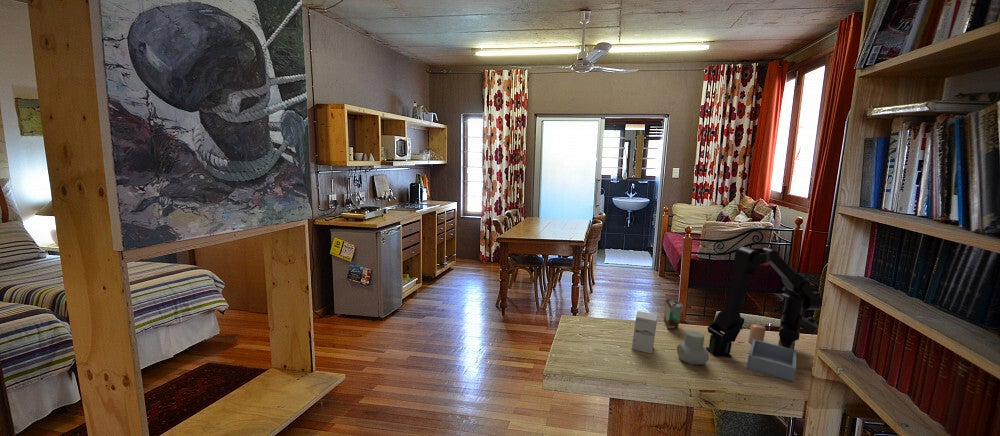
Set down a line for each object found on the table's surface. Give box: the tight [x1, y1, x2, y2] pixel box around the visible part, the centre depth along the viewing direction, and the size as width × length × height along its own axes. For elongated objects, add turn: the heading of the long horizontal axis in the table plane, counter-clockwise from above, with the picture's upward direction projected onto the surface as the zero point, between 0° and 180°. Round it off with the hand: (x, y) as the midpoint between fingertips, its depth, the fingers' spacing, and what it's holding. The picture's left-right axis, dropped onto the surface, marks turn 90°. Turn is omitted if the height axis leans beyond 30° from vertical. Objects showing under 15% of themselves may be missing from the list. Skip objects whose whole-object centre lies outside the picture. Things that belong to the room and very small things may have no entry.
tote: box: [746, 339, 797, 383], centre depth 157 cm, size 18×14×5 cm
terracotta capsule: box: [747, 323, 766, 345], centre depth 176 cm, size 5×5×7 cm
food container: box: [663, 297, 685, 331], centre depth 188 cm, size 12×6×10 cm, turn 168°
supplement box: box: [631, 310, 659, 354], centre depth 164 cm, size 7×7×13 cm
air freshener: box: [676, 330, 710, 366], centre depth 156 cm, size 11×8×10 cm
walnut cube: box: [777, 337, 796, 350], centre depth 171 cm, size 5×5×5 cm
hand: (785, 348), depth 171 cm, fingers open, 8 cm apart
